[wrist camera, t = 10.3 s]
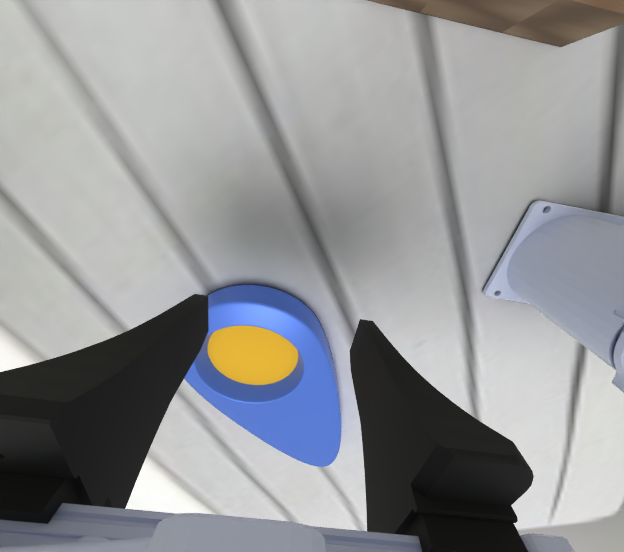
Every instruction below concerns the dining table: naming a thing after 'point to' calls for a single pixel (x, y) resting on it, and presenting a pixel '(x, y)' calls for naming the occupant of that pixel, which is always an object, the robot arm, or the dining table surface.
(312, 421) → the location marker
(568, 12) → the socket block
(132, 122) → the dining table surface
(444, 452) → the robot arm
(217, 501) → the dining table surface
